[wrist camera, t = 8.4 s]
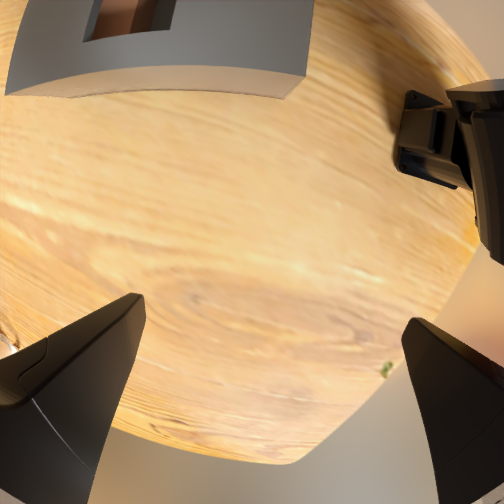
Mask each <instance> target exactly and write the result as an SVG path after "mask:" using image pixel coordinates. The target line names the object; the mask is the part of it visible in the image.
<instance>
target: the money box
mask: <svg viewBox="0 0 504 504" xmlns="http://www.w3.org/2000/svg"><path fill="white" fill-rule="evenodd" d="M102 1H103V0H29V1H28V4H27V7H26V9H25V12H24V15H23V18H22V21H21V24H20V27H19V30H18V34H17V37H16V41H15V45H14V49H13V53H12V57H11V62H10V66H9V71H8V77H7V83H6V89H5V96H46V97H61V98H77V97H84V96H91V95H100V94H109V93H120V92H135V91H162V90H183V91H211V92H226V93H238V94H247V95H256V96H264V97H271V98H278V99H285V98H286V97H287V96H288V95H289V94H290V92H291V91H292V90H293V89H294V88H295V87H296V86H297V85H298V84H299V83H300V82H301V81H302V80H303V79H304V78H305V76H306V68H307V60H308V52H309V44H310V35H311V26H312V17H313V7H314V0H158V1H157V5H156V8H155V12H154V16H153V20H152V24H151V28H150V32H141V33H133V34H126V35H120V36H114V37H108V38H103V39H98V40H93V41H91V40H92V36H93V32H94V28H95V24H96V21H97V17H98V14H99V10H100V7H101V4H102Z"/></svg>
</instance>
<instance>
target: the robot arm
mask: <svg viewBox="0 0 504 504" xmlns="http://www.w3.org/2000/svg"><path fill="white" fill-rule="evenodd" d="M445 91H446V94H447V97H448V99H450V101H451V104H452V105H444V104H442V103H440V102H438V101H436V100H434V99H432V98H430V97H428V96H426V95H424V94H421V93H419V92H417V91H414V90H410V91H408V92H407V93H406V98H405V108H404V111H403V112H402V120H401V127H400V134H399V140H398V143H399V150H398V156H397V161H396V169H397V170H398V171H399V172H401V173H404V174H408V175H411V176H414V177H418V178H421V179H424V180H427V181H430V182H433V183H436V184H439V185H442V186H445V187H448V188H451V189H454V190H455V189H457V187H458V186H459V187H461V188H464V189H466V190H469V191H471V192H473V196H474V204H475V212H476V216H475V224H476V226H477V227H478V232H479V236H480V240H481V242H482V243H483V244H484V246H485V247H486V248H487V249H488V250H489V251H490V257H491V258H492V259H493V260H495V261H497V262H498V263H500V264H501V265H504V79H494V80H485V81H481V82H476V83H472V84H468V85H464V86H460V87H456V88H452V89H448V90H445ZM411 94H412V95H413V96H414V99H412V97H411ZM402 164H404V168H403V169H402V168H401V165H402ZM145 322H146V312H145V302H144V297H143V295H142V294H137V293H129V294H127V295H125V296H123V297H121V298H119V299H117V300H115V301H113V302H111V303H109V304H108V305H106V306H104V307H102V308H100V309H98V310H96V311H94V312H92V313H90V314H88V315H87V316H85V317H83V318H81V319H79V320H77V321H75V322H73V323H71V324H70V325H68V326H66V327H64V328H62V329H60V330H58V331H56V332H55V333H53V334H51V335H49V336H48V338H47V337H45V338H43V339H42V340H40V341H38V342H36V343H34V344H32V345H30V346H28V347H26V348H24V349H22V350H20V351H18V352H16V353H14V354H11V355H9V356H7V357H5V358H2V359H0V504H87V502H88V498H89V495H90V491H91V487H92V484H93V480H94V477H95V476H94V475H95V473H96V469H97V466H98V463H99V460H100V456H101V453H102V450H103V447H104V444H105V441H106V438H107V435H108V432H109V429H110V426H111V423H112V420H113V417H114V415H115V412H116V409H117V406H118V404H119V401H120V398H121V395H122V393H123V390H124V388H125V385H126V382H127V380H128V377H129V375H130V372H131V370H132V367H133V364H134V361H135V358H136V354H137V351H138V347H139V343H140V340H141V336H142V332H143V329H144V326H145ZM401 342H402V346H403V350H404V354H405V358H406V362H407V366H408V371H409V375H410V379H411V382H412V385H413V388H414V392H415V395H416V398H417V402H418V405H419V409H420V412H421V416H422V420H423V424H424V427H425V432H426V435H427V440H428V443H429V448H430V453H431V458H432V463H433V468H434V473H435V480H436V486H437V492H438V500H439V504H471V503H473V502H475V501H476V500H478V499H480V498H481V499H482V502H483V504H504V368H503V367H502V366H500V365H498V364H497V363H495V362H493V361H491V360H490V359H489V358H487V357H485V356H484V355H482V354H481V353H479V352H478V351H476V350H474V349H473V348H471V347H469V346H468V345H466V344H465V343H463V342H461V341H459V340H458V339H456V338H455V337H453V336H451V335H450V334H448V333H446V332H445V331H443V330H441V329H440V328H438V327H436V326H435V325H433V324H431V323H430V322H428V321H426V320H425V319H423V318H420V317H413V318H411V319H410V320H409V322H408V324H407V326H406V328H405V330H404V332H403V334H402V338H401Z"/></svg>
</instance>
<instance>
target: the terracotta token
mask: <svg viewBox="0 0 504 504" xmlns="http://www.w3.org/2000/svg"><path fill="white" fill-rule="evenodd" d="M157 1H158V0H103V1H102V4H101V7H100V10H99V14H98V17H97V21H96V24H95V28H94V32H93V36H92V40H91V41H93V40H98V39H103V38H108V37H114V36H120V35H126V34H133V33H141V32H150V28H151V24H152V20H153V16H154V12H155V8H156V5H157Z"/></svg>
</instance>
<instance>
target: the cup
mask: <svg viewBox="0 0 504 504" xmlns="http://www.w3.org/2000/svg"><path fill="white" fill-rule="evenodd" d="M18 351H19V349H18V348H17V347H16V346H14V345H13V344H12V342H11V341H10V340H9V338H7V337H6V336H5V335H3V334H2V333H0V359H2V358H5V357H7V356H9V355H11V354H14V353H16V352H18Z"/></svg>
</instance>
